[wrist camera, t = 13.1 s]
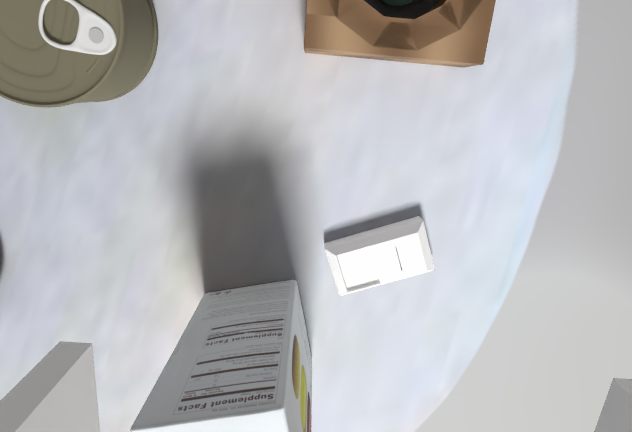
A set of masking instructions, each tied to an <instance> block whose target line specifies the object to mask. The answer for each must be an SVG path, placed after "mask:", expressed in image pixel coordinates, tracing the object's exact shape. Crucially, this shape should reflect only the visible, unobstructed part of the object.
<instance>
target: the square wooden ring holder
mask: <svg viewBox="0 0 632 432" xmlns="http://www.w3.org/2000/svg"><path fill="white" fill-rule="evenodd" d="M495 1H496V0H438V1H437V3H436V4H435V5H434V7H433V8H432V10H431V11H430V12H428V13H426V14H424V15H422V16H420V17H418V18H416V19H406V18H395V17H385V16H383V15H382V14H380V13H379V12H378V11H377V10H375V9H374V8H373V7H372V6H370V5H369V4H368V3H367V2H365V1H364V0H307V11H306V25H305V39H304V51H305V53H314V54H324V55H335V56H346V57H357V58H368V59H378V60H389V61H400V62H411V63H422V64H432V65H443V66H454V67H469V66H475V65H482V64H483V63H484V58H485V52H486V47H487V42H488V37H489V32H490V27H491V21H492V16H493V11H494V6H495Z"/></svg>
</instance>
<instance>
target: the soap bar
mask: <svg viewBox="0 0 632 432" xmlns="http://www.w3.org/2000/svg"><path fill="white" fill-rule="evenodd" d="M324 246H325V251H326V254H327V258H328V261H329V264H330V267H331V270H332V273H333V276H334V279H335V282H336V286H337V289H338V292H339V295H340V296H342V295H345V294H349V293H353V292H356V291H360V290H364V289H367V288H371V287H375V286H378V285H382V284H386V283H389V282H393V281H396V280H400V279H404V278H407V277H411V276H415V275H418V274H422V273H426V272H429V271H433V270H435V268H434V264H433V260H432V256H431V251H430V247H429V243H428V239H427V235H426V230H425V226H424V222H423V220H422V219H421V217H420V216H416V217H413V218H409V219H406V220H403V221H399V222H396V223H392V224H389V225H385V226H382V227H378V228H375V229H371V230H368V231H364V232H361V233H357V234H354V235H351V236H347V237H344V238H340V239H337V240H333V241H330V242H326V243H324Z"/></svg>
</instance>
